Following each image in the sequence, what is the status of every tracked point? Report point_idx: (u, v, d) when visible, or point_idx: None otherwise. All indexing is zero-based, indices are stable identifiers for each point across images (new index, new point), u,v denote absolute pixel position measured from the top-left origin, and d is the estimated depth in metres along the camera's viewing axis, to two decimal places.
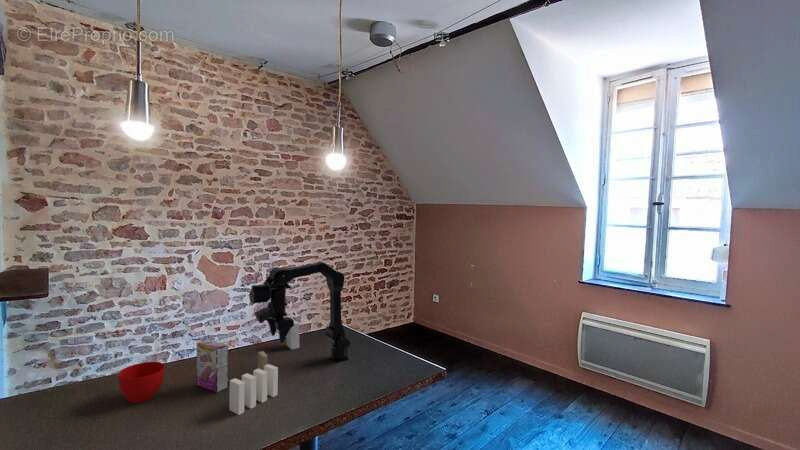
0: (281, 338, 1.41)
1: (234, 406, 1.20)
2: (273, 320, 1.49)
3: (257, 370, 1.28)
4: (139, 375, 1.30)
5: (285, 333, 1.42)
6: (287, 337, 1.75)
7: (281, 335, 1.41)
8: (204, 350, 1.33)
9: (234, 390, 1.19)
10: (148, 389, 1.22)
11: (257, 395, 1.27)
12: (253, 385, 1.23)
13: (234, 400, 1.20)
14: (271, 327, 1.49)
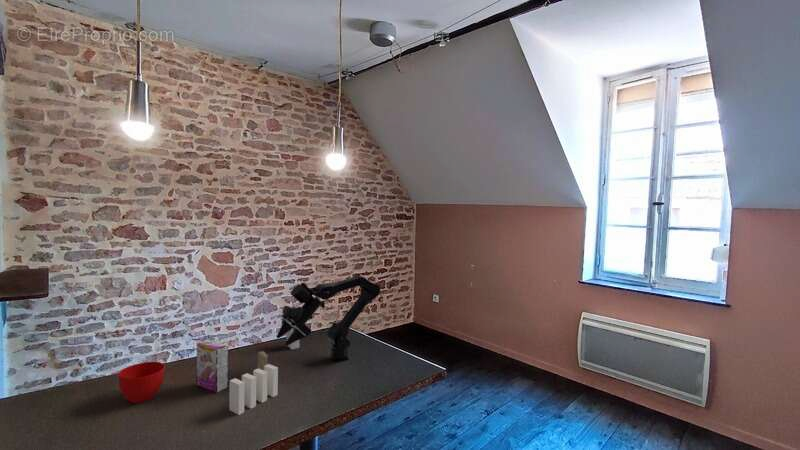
0: (289, 341, 1.43)
1: (234, 406, 1.20)
2: (287, 325, 1.53)
3: (257, 370, 1.28)
4: (139, 375, 1.30)
5: (295, 339, 1.44)
6: (287, 337, 1.75)
7: (291, 338, 1.43)
8: (204, 350, 1.33)
9: (234, 390, 1.19)
10: (148, 389, 1.22)
11: (257, 395, 1.27)
12: (253, 385, 1.23)
13: (234, 400, 1.20)
14: (281, 329, 1.52)
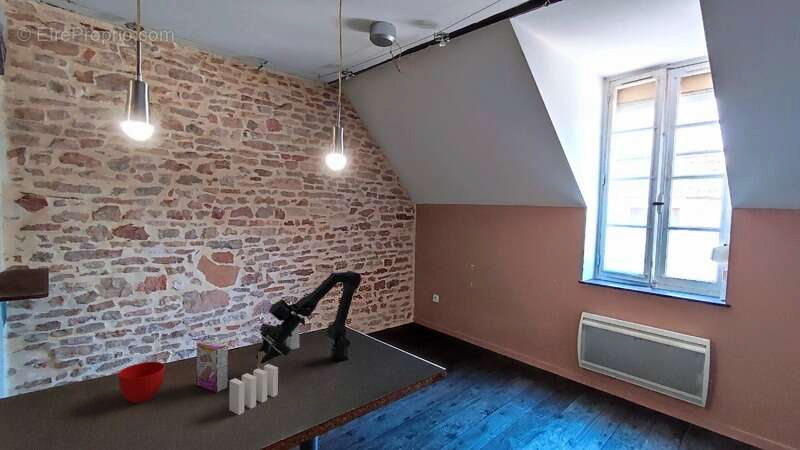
0: (264, 359, 1.40)
1: (234, 406, 1.20)
2: (267, 345, 1.47)
3: (257, 370, 1.28)
4: (139, 375, 1.30)
5: (271, 357, 1.41)
6: None
7: (267, 356, 1.40)
8: (204, 350, 1.33)
9: (234, 390, 1.19)
10: (148, 389, 1.22)
11: (257, 395, 1.27)
12: (253, 385, 1.23)
13: (234, 400, 1.20)
14: (261, 349, 1.45)
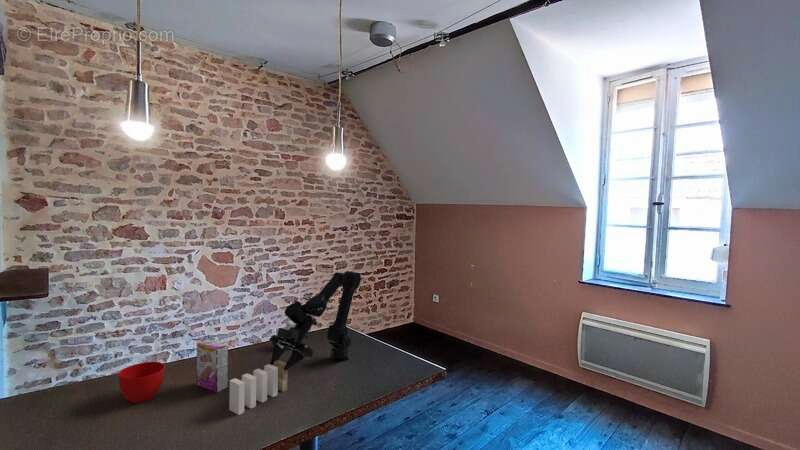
0: (288, 365, 1.33)
1: (234, 406, 1.20)
2: (280, 349, 1.40)
3: (257, 370, 1.28)
4: (139, 375, 1.30)
5: (294, 362, 1.35)
6: None
7: (291, 361, 1.33)
8: (204, 350, 1.33)
9: (234, 390, 1.19)
10: (148, 389, 1.22)
11: (257, 395, 1.27)
12: (253, 385, 1.23)
13: (234, 400, 1.20)
14: (275, 355, 1.38)
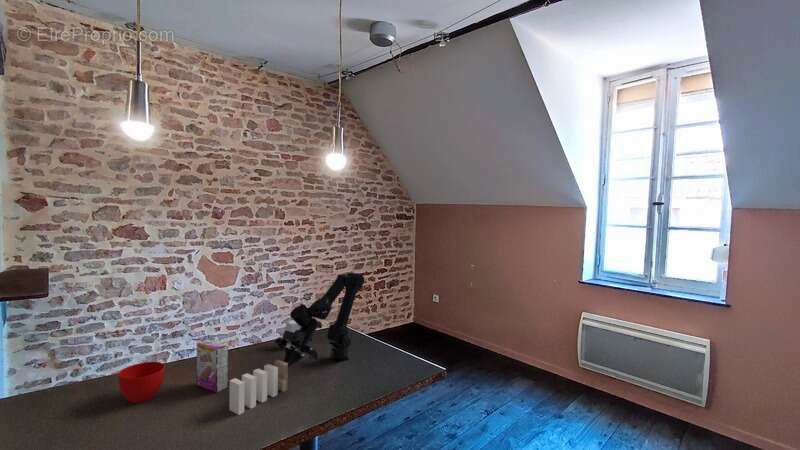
0: None
1: (234, 406, 1.20)
2: None
3: (257, 370, 1.28)
4: (139, 375, 1.30)
5: (293, 361, 1.39)
6: None
7: (290, 361, 1.38)
8: (204, 350, 1.33)
9: (234, 390, 1.19)
10: (148, 389, 1.22)
11: (257, 395, 1.27)
12: (253, 385, 1.23)
13: (234, 400, 1.20)
14: (287, 359, 1.38)
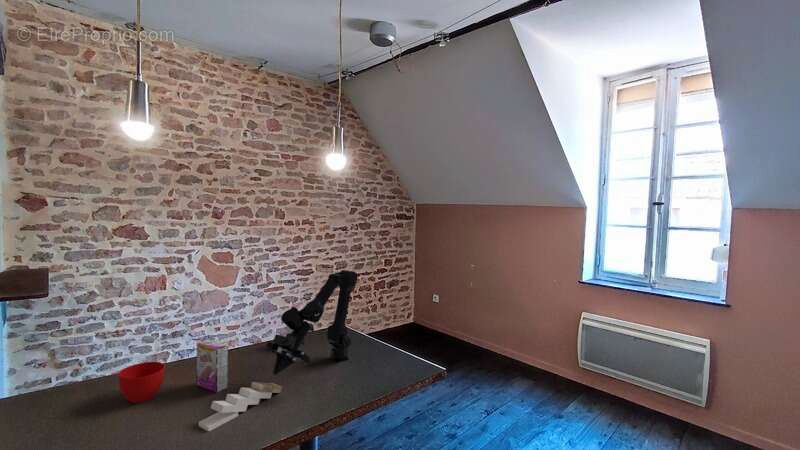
0: (278, 370, 1.34)
1: None
2: None
3: (228, 399, 1.19)
4: (139, 375, 1.30)
5: (284, 366, 1.35)
6: None
7: (281, 366, 1.34)
8: (204, 350, 1.33)
9: None
10: (148, 389, 1.22)
11: None
12: (228, 409, 1.14)
13: None
14: None
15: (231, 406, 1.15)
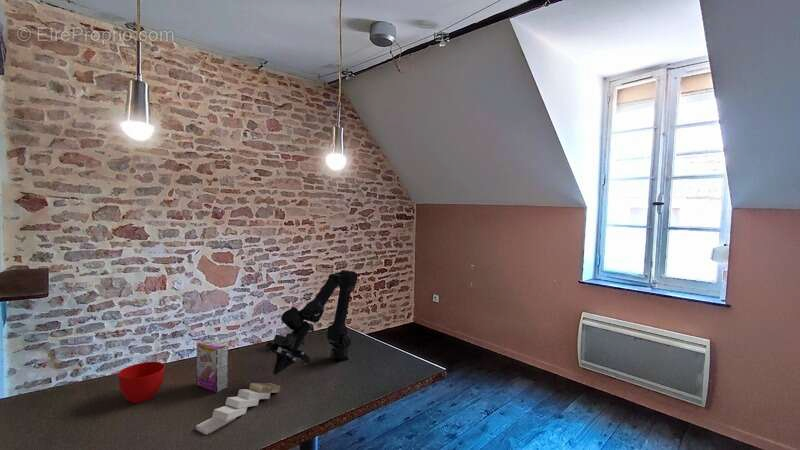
0: (278, 370, 1.34)
1: None
2: None
3: (228, 402, 1.17)
4: (139, 375, 1.30)
5: (284, 366, 1.35)
6: None
7: (281, 366, 1.34)
8: (204, 350, 1.33)
9: None
10: (148, 389, 1.22)
11: None
12: (232, 415, 1.12)
13: None
14: None
15: (234, 412, 1.13)
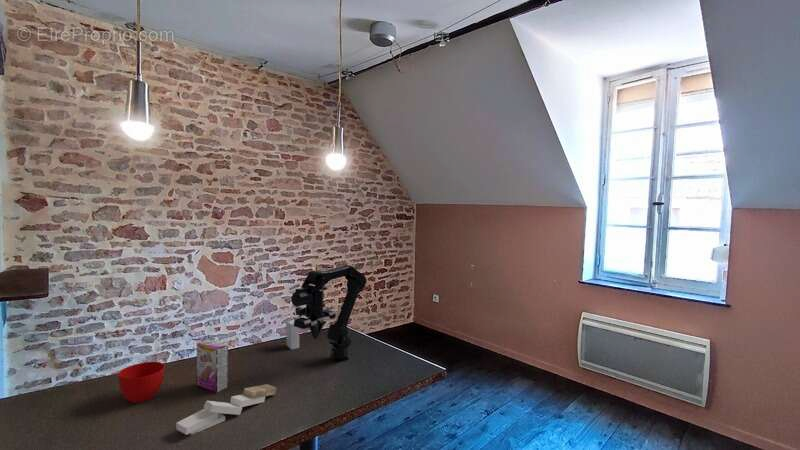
0: (313, 335, 1.51)
1: None
2: (316, 324, 1.52)
3: (206, 405, 1.14)
4: (139, 375, 1.30)
5: (314, 331, 1.50)
6: (287, 337, 1.75)
7: (311, 331, 1.51)
8: (204, 350, 1.33)
9: None
10: (148, 389, 1.22)
11: None
12: (194, 427, 1.08)
13: None
14: None
15: (197, 423, 1.08)
